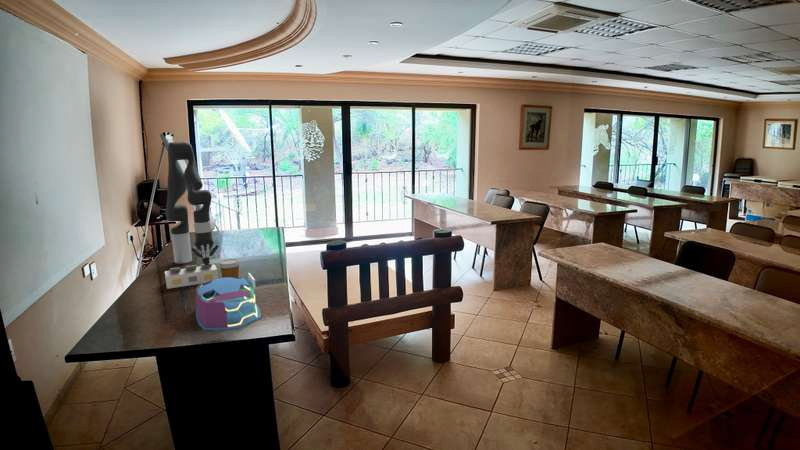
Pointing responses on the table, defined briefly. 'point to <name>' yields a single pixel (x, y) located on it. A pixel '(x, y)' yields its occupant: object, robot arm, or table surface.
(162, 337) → the table surface
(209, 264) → the rocker
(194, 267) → the block
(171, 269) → the rocker
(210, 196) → the robot arm
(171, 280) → the console
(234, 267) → the disposable coffee cup
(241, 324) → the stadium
